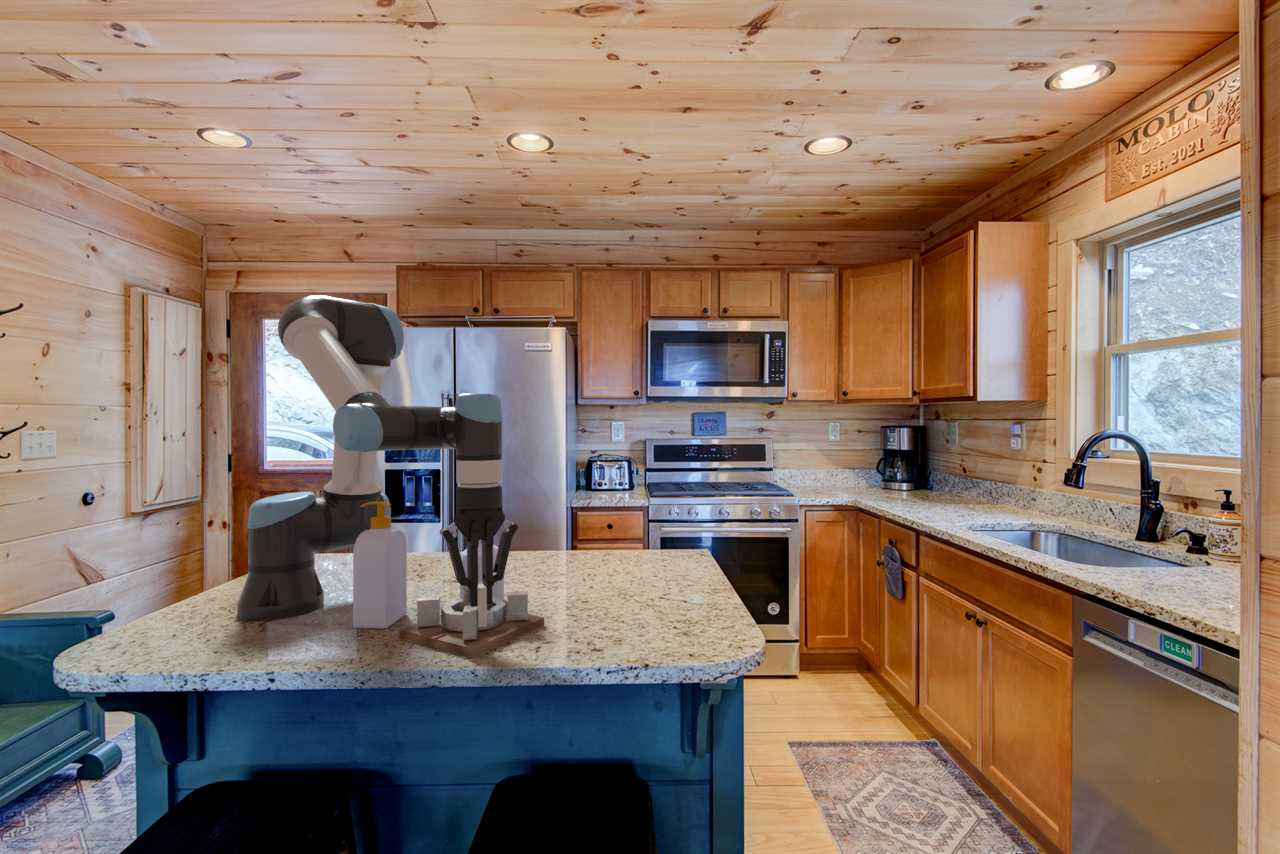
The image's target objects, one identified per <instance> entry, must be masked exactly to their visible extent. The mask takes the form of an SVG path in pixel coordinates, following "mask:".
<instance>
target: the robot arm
mask: <svg viewBox="0 0 1280 854" xmlns="http://www.w3.org/2000/svg"><path fill="white" fill-rule="evenodd" d="M277 332H278V337H279V340H280V343H281V345H282V346H283V347H284V349H285V351H286V352H287V353H288V354H289V355H290V356H291V357H293V358H294V359H297V360H299V361H300V362H301V364H302V365H303V366H304V368H305V369H306V371H307V373H308V374H309V375H310V377H311V378H312V379H313V381H314V383H316V385H317V387H318V388H319V390H320V391H321V392H322V394H323V395H324V397H325V398H326V400H327V402H329V404H330V406H331V407H332V408H333V409H334V411H335V413H334V415H333V420H332V421H333V422H332V431H333V435H334V441H333V443H334V444H333V456H332V470H331V471H332V473H331V480H330V481H328V482H327V483H326V484H325V485H324V486H323V489H322V490H323V491H322V496H321V497H316V495H315V493H314V492H313V491H297V492H289V493H288V492H287V493H282V494H277V495H271V496H267V497H263V498H261V499H258V500H256V501H255V502H253V503H251V505H250V507H249V509H248V520H247V523H246V528H247V530H248V531H247V534H248V535H247V545H248V546H247V555H248V556H247V557H248V558H247V562H248V563H247V566H248V567H247V569H248V570H247V577H246V580H245V582H244V585H243V588H242V591H241V594H240V596H239V598H238V601H237V606H236V607H237V609H236V611H237V617H238V618H239V619H242V620H248V621H268V620H269V621H270V620H279V619H287V618H293V617H296V616H301V615H305V614H308V613H312V612H314V611H316V610H318V609H319V608H320V609H321V608H322V607H323V606H324V603H325V593H324V590H323V587H322V584H321V581H320V579H319V576H318V573H317V570H316V567H315V556H316V553H324V552H330V551H331V552H332V551H335V550H336V551H337V550H343V549H349V548H354V545H355V543H356V540H357V538H358V537H359V535H360V534H361V533H362V532H363V531H365V530H370V529H371V518H372V517H377V504H369V505H366V506H364V507H361V505H363V504H365V503H369V502H377V501H382V502H387V503H389V504H391V503H390V500H389V497H388V496H387V495H386V494H385V493H383V492H382V486H381V485H380V484H379V483H378V482H377V481H376V468H377V454H378V452H380V451H383V452H384V451H401V450H402V451H407V450H408V451H410V450H411V451H412V450H414V451H415V450H455V461H456V462H455V463H456V467H455V468H456V470H455V471H456V473H455V477H456V478H455V479H456V481H455V482H456V484H457V485H459V486H458V487H457V488H456V489H455V490H456V491H455V495H456V496H455V497H456V498H455V499H456V500H455V502H456V504H455V506H456V513H455V515H454V517H453V521H452V523H450V524H449V525H448V526H447V527H442V528H441V529H440V530H439V534H440V535H441V537H442V538H443V539H444V541H445V542H446V546H447V550H448V553H449V557H450V561H451V564H452V568H453V572H454V575H455V579H456V582H457V583H458V584H459V586H460V585H462V586H468V603H469V605H470V606H471V607H475V608H476V609H477V626H478V627H484V626H487V604H491V603H492V586H493V585H494V583H495V582H497V581H501V580H502V579H503V577H504V578H505V571H506V566H507V563H508V559H509V554H510V549H511V545H512V541H513V537H514V536H515V534H516V532H517V531H518V529H519V525H518V524H517V523H515V522H512V521H510V520H508V519H506V515H505V512H504V510H503V487H502V485H500V483H502V482H503V459H502V455H503V415H502V401H501V398H500V396H498V395H497V394H493V393H482V392H481V393H478V392H477V393H476V392H475V393H471V392H470V393H460V394H458V395H457V396H456V398H455V404H454V405H455V406H428V405H427V406H426V405H425V406H423V405H422V406H421V405H419V406H418V405H398V404H394V405H392V404H390V403H389V402H388V401H387V400H386V399H385V398H384V397H383V396H382V385H383V384H382V383H383V375H384V374H385V373H386V372H387V371H389V370H390V369H391V365H392V364H391V363H392V361H394V360H396V359H398V358H399V357H400V356H401V354H402V352H401V351H403V349H404V345H405V344H404V341H405V336H404V328H403V325H402V322H401V318H399V315H398V314H397V313H396V312H395V311H394V310H393V309H392V308H390V307H387V306H384V305H380V304H377V303H373V302H366V301H365V302H364V301H358V300H353V299H352V300H351V299H345V298H338V297H333V296H328V295H322V294H320V295H319V294H317V295H316V294H315V295H313V294H312V295H308V296H304V297H302V298H299V299H296V300H294V301H293V302H292V303H290V304H289V305H288V306H287V307H286V308H285V309H284V310H283V312H282V313H281V315H280V318H279V319H278V323H277ZM391 515H392V507H391V506H389V507H385V516H390V517H391V518H392V516H391ZM457 530H458V532H460V534H461V535H462V536H463V537H464V539H465V542H466V549H467V577H466V574H465V570H464V567H463V563H462V559H461V551H460V548H459V544H458V542H457V540H456V537H457V536H458V533H457ZM499 530H501V535H500V538H499V542H498V543H499V544H498V546H497V547H498V552H497V556H496V561H495V565H494V569H493V545H495V543H494V540H495V539H494V538H495V536H496V535H497V533H498V532H499ZM479 540H481V543H482V581H483V584H478V546H479Z"/></svg>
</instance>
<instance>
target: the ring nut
mask: <svg viewBox="0 0 1280 854" xmlns="http://www.w3.org/2000/svg"><path fill="white" fill-rule="evenodd" d="M528 595H529V593H528V591H527V590H526V591H511V592H510V591H507V603H506V602H505V601H504V600H503V601H502V600H501V599H497V598H492V603H491V604H487V626H484V627H478V626H477V609H476V608H475V607H471V606H465V607H464V610H463V612H462V599H460V598H459V599H455V600H452V601H450V602H448V603H446V604H444V605H442V606H441V595H436V596H435V595H434V596H420V597H418V599H417V600H416V601H417V603H416V605H417V607H416V610H417V612H416V613H417V615H416V616H417V617H416V619H417V622H416V623H417V627H421V626H436V625H439V623H440V615H441V624H442V625H443V626H444V628H445V629H448V630H452V631H463V640H472V639H477V634H478V631H479V630H484V629H490V628H493V627H497V626H498V625H500V624H501V623H502V622H504V621H505V620H506V610H508V621H513V620H528V614H529V613H528V609H529V605H528V603H529V601H528V599H529V597H528Z"/></svg>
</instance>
